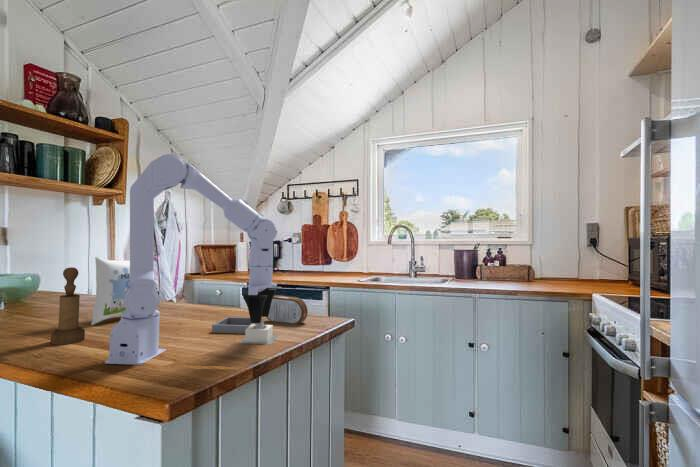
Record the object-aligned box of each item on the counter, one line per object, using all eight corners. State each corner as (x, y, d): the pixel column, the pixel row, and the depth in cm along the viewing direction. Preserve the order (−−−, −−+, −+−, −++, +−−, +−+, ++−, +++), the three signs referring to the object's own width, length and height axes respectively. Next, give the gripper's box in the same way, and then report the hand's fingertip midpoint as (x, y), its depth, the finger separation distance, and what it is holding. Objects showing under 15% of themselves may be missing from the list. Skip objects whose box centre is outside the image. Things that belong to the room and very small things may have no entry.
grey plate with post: (271, 346, 88) (271, 325, 88) (238, 345, 88) (238, 324, 89) (278, 337, 96) (278, 318, 96) (248, 336, 96) (248, 317, 97)
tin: (307, 325, 112) (308, 297, 112) (302, 327, 109) (303, 299, 109) (267, 319, 118) (268, 293, 119) (261, 321, 115) (262, 295, 116)
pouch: (81, 324, 107) (84, 256, 108) (141, 313, 125) (143, 254, 125) (99, 327, 104) (102, 257, 104) (158, 315, 121) (160, 255, 122)
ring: (267, 342, 90) (267, 330, 90) (245, 341, 90) (245, 329, 90) (272, 336, 95) (272, 325, 95) (251, 336, 95) (252, 324, 95)
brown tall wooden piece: (65, 345, 85) (68, 268, 86) (43, 343, 87) (46, 267, 87) (91, 338, 92) (93, 267, 92) (69, 336, 93) (72, 266, 93)
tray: (250, 335, 98) (251, 326, 98) (211, 334, 98) (212, 324, 98) (261, 326, 108) (261, 317, 108) (226, 325, 109) (226, 317, 109)
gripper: (269, 268, 86) (268, 326, 85) (282, 264, 100) (281, 314, 100) (240, 267, 86) (238, 325, 85) (257, 264, 100) (256, 313, 100)
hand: (260, 319), depth 93 cm, fingers open, 7 cm apart
